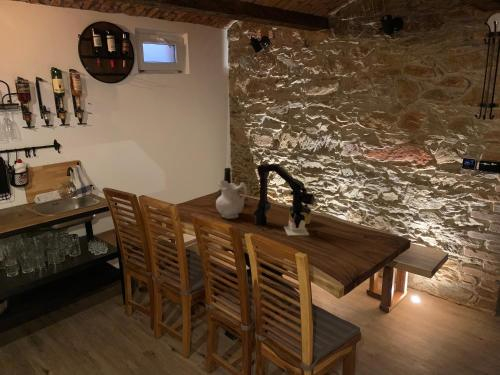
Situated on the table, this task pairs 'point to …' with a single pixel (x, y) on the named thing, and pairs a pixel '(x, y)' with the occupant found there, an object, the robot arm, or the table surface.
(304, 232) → the grey mat
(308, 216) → the cheese
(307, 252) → the table surface
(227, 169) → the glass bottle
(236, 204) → the ceramic pitcher
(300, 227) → the card box
